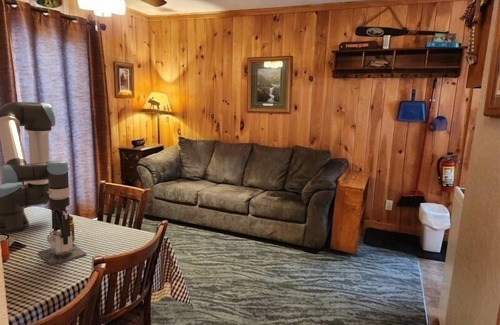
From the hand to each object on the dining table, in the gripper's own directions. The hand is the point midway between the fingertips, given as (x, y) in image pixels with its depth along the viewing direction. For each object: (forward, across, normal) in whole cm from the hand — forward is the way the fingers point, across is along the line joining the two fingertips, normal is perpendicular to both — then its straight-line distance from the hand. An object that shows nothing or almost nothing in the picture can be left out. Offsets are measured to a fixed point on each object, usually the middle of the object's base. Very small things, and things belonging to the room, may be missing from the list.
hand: (61, 248), depth 144 cm
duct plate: (+3, 0, 0) cm, 3 cm away
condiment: (+3, -14, +6) cm, 15 cm away
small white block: (0, 0, 0) cm, 0 cm away
